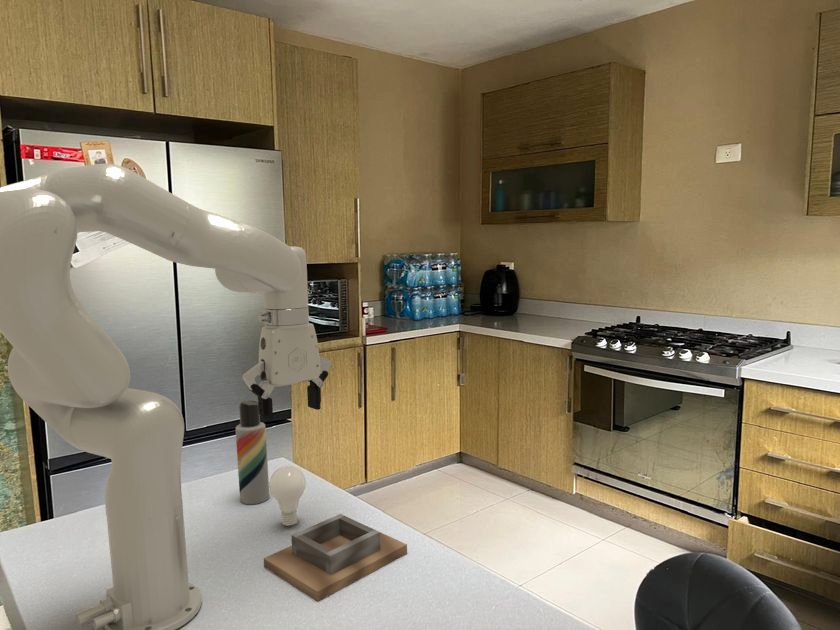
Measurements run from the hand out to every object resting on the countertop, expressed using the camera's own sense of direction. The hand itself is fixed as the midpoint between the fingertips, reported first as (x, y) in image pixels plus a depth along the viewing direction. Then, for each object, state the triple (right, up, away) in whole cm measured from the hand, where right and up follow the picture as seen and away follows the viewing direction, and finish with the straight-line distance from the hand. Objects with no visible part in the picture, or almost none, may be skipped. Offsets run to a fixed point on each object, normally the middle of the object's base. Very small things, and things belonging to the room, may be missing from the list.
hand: (291, 413), depth 110 cm
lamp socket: (+9, -22, -10) cm, 26 cm away
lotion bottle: (-10, -19, +14) cm, 26 cm away
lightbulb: (-1, -21, +2) cm, 21 cm away
